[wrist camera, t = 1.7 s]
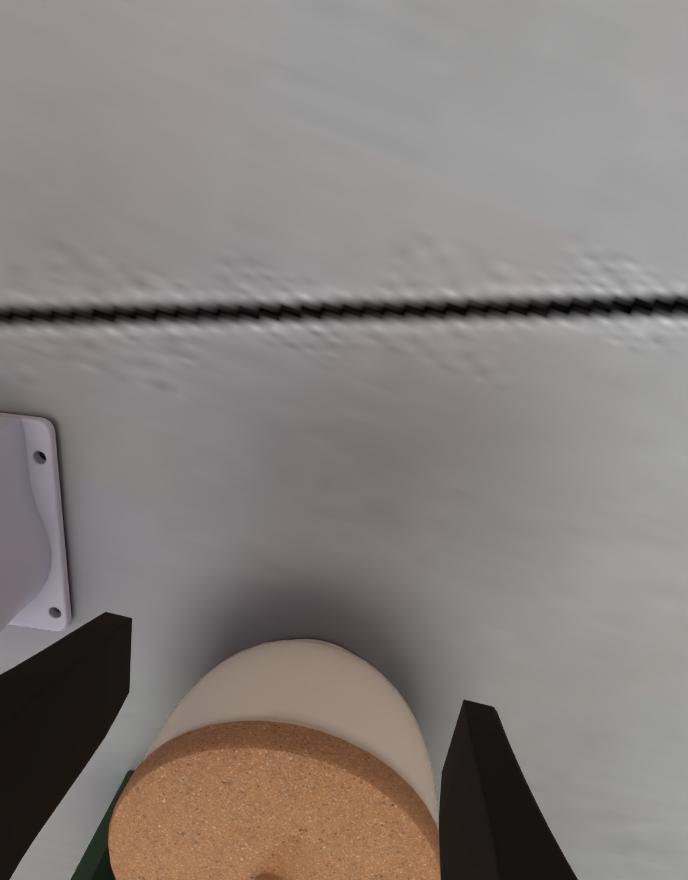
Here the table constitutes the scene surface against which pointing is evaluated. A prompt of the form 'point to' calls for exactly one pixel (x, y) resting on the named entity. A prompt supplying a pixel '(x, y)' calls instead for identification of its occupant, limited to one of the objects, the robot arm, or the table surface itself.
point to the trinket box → (282, 777)
